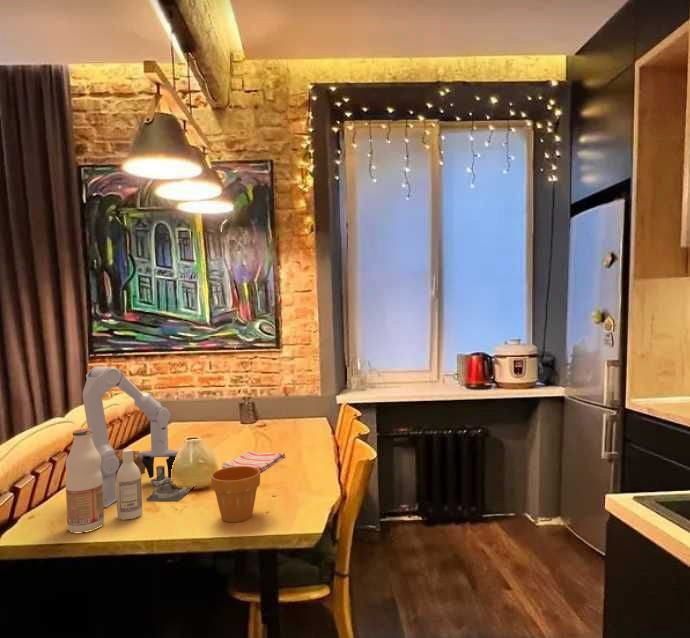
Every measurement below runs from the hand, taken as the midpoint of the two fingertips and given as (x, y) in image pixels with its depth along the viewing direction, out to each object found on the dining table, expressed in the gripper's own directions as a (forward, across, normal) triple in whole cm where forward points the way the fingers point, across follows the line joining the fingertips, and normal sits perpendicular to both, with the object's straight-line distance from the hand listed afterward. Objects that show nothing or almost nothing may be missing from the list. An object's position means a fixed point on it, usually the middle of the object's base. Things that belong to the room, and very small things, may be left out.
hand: (160, 477), depth 186 cm
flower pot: (+2, -37, +30) cm, 48 cm away
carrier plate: (+2, -8, +10) cm, 13 cm away
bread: (+3, +21, -8) cm, 23 cm away
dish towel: (+3, -28, -24) cm, 37 cm away
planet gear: (+2, 0, 0) cm, 2 cm away
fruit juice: (+2, +5, +38) cm, 38 cm away
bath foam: (+2, -4, +30) cm, 30 cm away
